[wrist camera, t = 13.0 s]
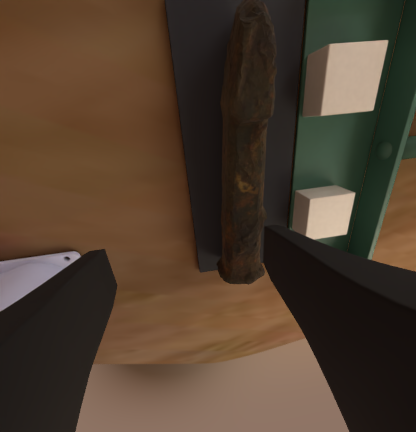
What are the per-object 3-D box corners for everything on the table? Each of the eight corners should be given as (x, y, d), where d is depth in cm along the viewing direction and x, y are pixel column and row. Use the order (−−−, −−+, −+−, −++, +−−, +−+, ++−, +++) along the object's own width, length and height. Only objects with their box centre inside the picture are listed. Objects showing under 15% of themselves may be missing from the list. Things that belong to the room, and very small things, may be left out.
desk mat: (199, 270, 22) (199, 272, 21) (164, -1, 13) (164, -4, 13) (282, 257, 22) (284, 259, 22) (302, -7, 14) (306, -11, 13)
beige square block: (291, 228, 21) (305, 241, 19) (295, 190, 19) (310, 199, 17) (329, 223, 21) (347, 234, 19) (336, 184, 19) (355, 192, 17)
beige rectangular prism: (301, 117, 17) (320, 116, 14) (307, 55, 15) (329, 43, 13) (348, 112, 17) (374, 110, 15) (359, 51, 15) (389, 39, 13)
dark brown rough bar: (253, 258, 21) (271, 290, 17) (214, 261, 21) (224, 296, 17) (277, 19, 14) (321, -28, 10) (217, 15, 13) (237, -36, 9)
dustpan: (284, 264, 23) (297, 281, 20) (308, -28, 13) (340, -64, 11) (419, 242, 24) (447, 256, 22) (529, -36, 15) (603, -69, 12)
